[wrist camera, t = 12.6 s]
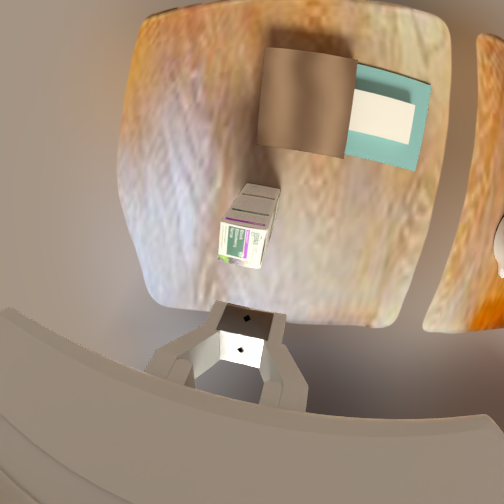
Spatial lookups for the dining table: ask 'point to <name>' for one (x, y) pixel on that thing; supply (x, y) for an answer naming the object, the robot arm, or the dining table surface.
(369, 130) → the cream rectangular block
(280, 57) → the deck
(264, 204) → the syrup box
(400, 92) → the mat
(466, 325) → the dining table surface
